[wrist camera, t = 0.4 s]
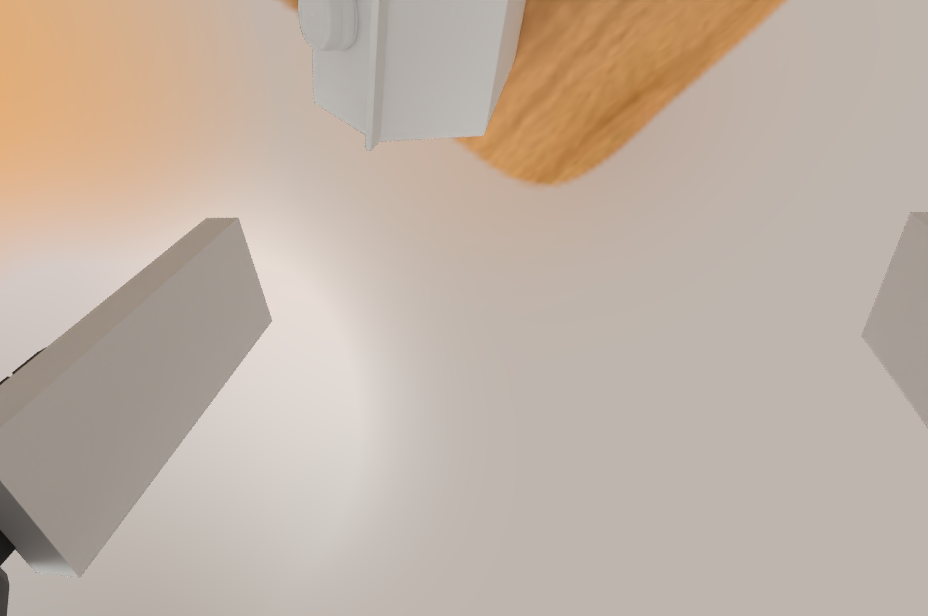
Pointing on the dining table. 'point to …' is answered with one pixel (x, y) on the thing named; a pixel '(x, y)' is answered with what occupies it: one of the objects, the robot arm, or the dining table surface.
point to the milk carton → (411, 63)
